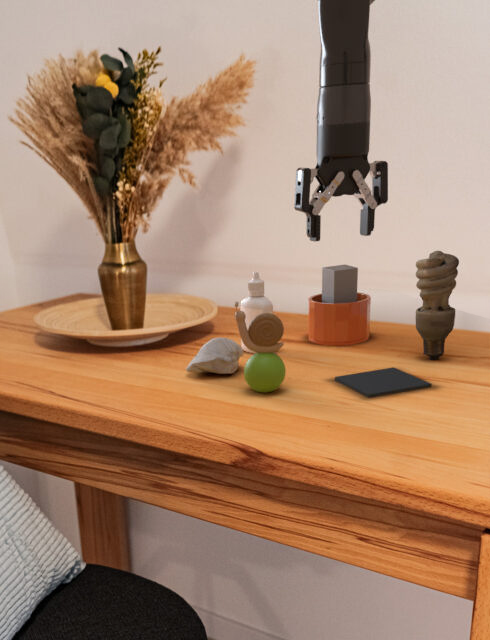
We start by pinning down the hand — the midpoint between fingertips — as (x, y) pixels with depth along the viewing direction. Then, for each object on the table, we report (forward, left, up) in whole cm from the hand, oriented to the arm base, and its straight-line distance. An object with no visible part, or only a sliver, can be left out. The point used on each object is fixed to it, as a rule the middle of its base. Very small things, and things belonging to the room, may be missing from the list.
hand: (340, 238), depth 128 cm
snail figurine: (+22, +20, -16) cm, 33 cm away
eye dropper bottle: (+14, 0, -16) cm, 21 cm away
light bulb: (-5, +18, -16) cm, 24 cm away
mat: (+7, +25, -16) cm, 30 cm away
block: (0, 0, -15) cm, 15 cm away
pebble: (+24, +8, -16) cm, 30 cm away
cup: (0, 0, -16) cm, 16 cm away
